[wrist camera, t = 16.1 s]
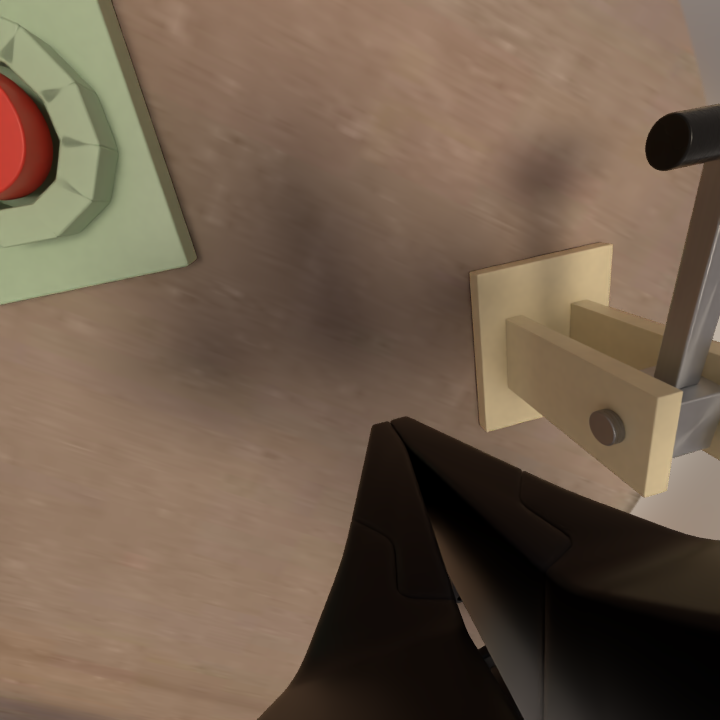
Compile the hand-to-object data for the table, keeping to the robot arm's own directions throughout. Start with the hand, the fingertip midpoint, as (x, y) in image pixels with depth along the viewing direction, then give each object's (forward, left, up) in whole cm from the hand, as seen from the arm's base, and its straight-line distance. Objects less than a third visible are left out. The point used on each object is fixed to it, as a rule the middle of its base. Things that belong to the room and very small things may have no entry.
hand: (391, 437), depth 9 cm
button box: (+9, +10, -13) cm, 19 cm away
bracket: (-5, -12, -13) cm, 18 cm away
